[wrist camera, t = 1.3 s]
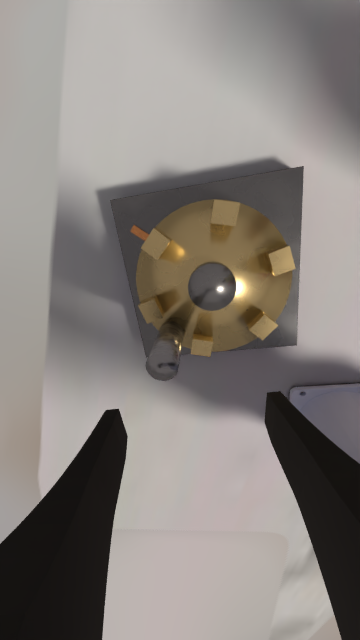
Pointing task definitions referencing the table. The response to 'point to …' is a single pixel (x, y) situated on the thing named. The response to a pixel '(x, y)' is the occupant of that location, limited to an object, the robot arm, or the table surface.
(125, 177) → the table surface
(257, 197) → the base plate
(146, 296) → the gold round piece
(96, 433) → the robot arm
